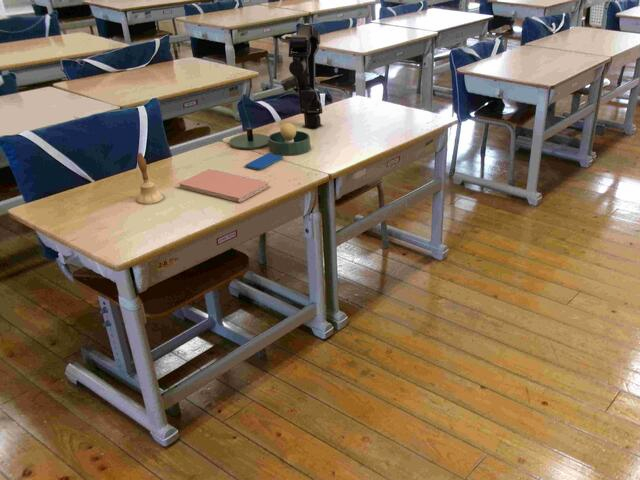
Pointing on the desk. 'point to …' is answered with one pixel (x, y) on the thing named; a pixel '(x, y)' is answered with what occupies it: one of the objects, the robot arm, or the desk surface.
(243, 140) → the tin lid
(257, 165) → the smartphone
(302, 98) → the robot arm
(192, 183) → the notebook
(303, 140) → the tin
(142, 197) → the hand bell
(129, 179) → the desk surface
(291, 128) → the light bulb
